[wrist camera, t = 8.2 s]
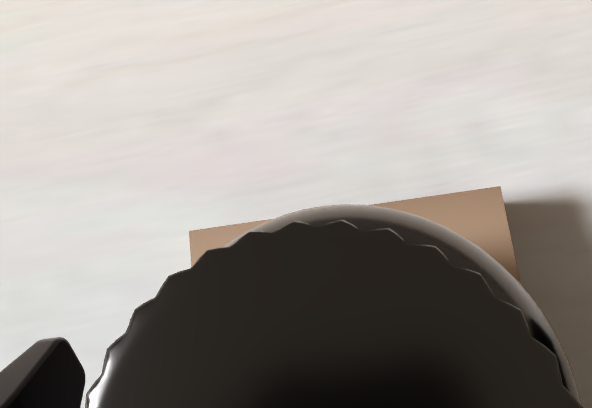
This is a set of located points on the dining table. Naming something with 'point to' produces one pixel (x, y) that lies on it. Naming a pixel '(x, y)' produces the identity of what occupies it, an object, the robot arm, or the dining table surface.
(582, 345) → the dining table surface
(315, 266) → the supplement bottle
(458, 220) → the tan flat square block
